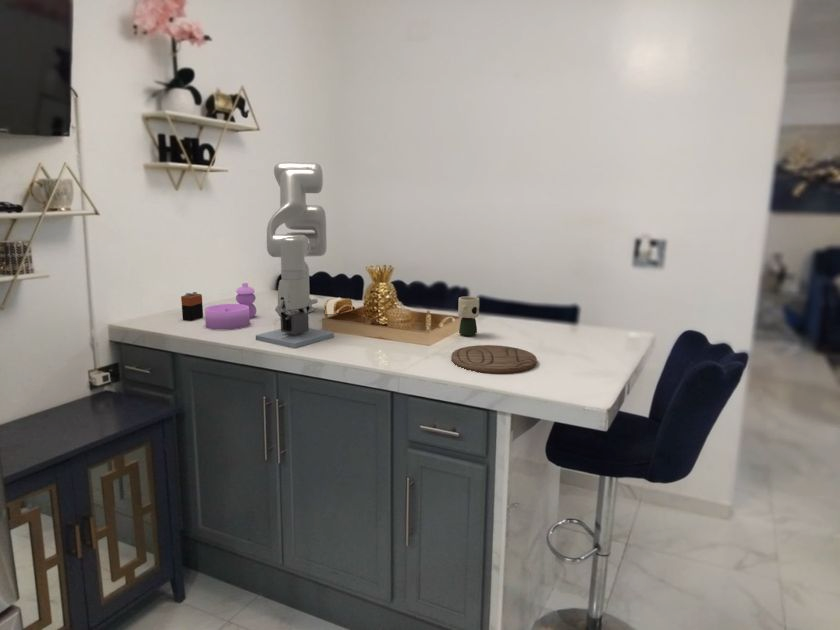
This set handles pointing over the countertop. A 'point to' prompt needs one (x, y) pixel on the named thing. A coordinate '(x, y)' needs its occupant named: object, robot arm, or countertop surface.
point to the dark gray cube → (297, 322)
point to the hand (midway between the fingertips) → (294, 328)
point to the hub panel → (294, 337)
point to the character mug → (468, 315)
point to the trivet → (494, 359)
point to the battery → (192, 306)
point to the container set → (232, 311)
